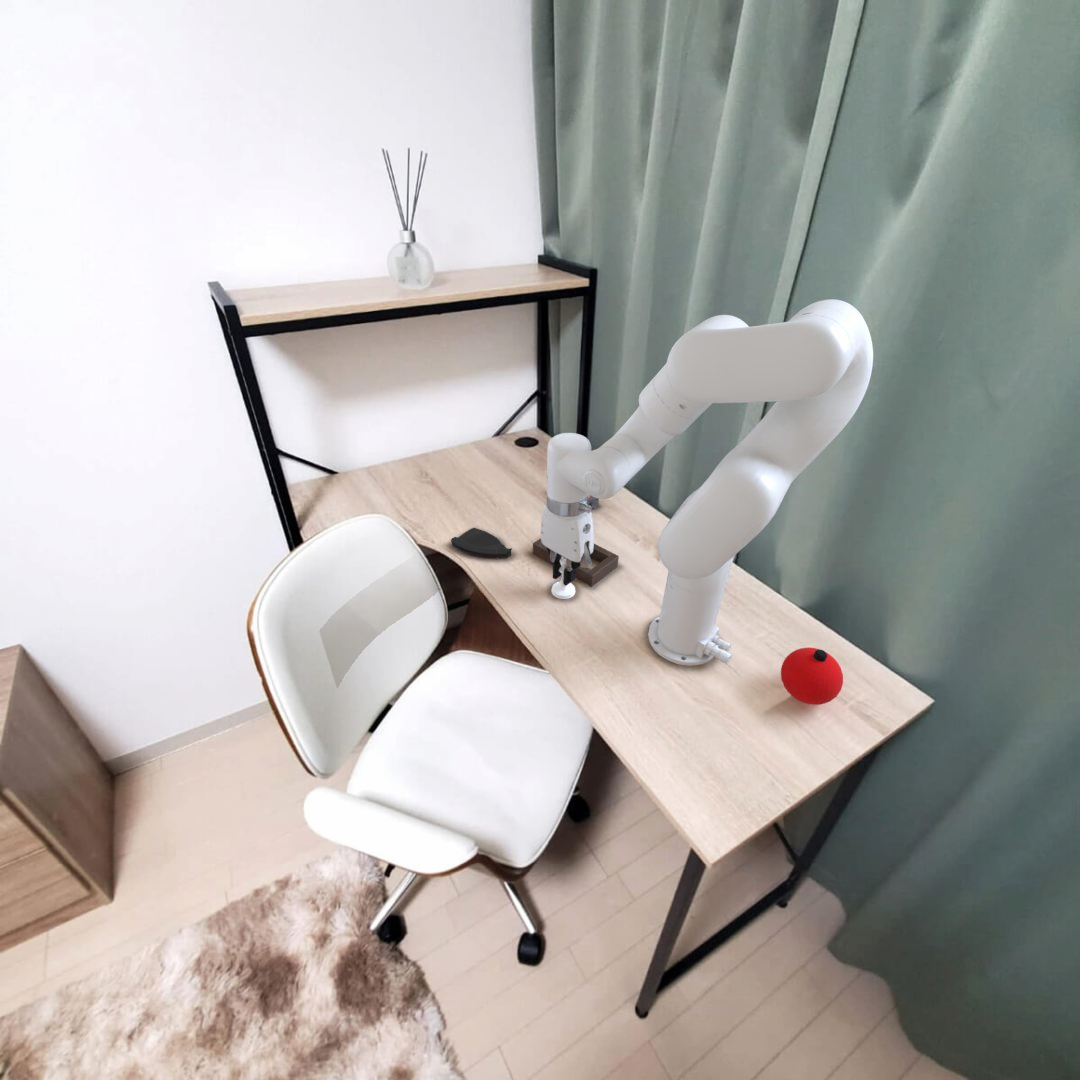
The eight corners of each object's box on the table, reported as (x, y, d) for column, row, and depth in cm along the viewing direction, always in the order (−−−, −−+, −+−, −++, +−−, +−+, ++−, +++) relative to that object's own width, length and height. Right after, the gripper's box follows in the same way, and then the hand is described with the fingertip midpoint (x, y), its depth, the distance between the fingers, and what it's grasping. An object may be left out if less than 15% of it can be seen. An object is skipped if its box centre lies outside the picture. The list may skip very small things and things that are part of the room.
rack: (617, 566, 116) (618, 555, 114) (591, 587, 110) (592, 576, 108) (559, 536, 125) (559, 526, 123) (532, 554, 119) (532, 543, 118)
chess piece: (580, 590, 109) (582, 552, 103) (564, 602, 106) (566, 563, 100) (562, 580, 112) (563, 541, 106) (546, 591, 109) (547, 552, 103)
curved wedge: (493, 569, 115) (493, 563, 114) (449, 546, 122) (448, 540, 121) (518, 550, 120) (517, 544, 119) (474, 529, 127) (474, 524, 126)
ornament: (766, 696, 88) (782, 655, 82) (785, 664, 93) (801, 623, 88) (823, 726, 83) (844, 685, 77) (839, 690, 89) (860, 649, 83)
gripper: (615, 509, 94) (607, 587, 105) (548, 478, 103) (547, 554, 114) (588, 526, 90) (583, 606, 100) (521, 493, 98) (522, 570, 109)
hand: (564, 578), depth 107 cm, fingers closed on chess piece
